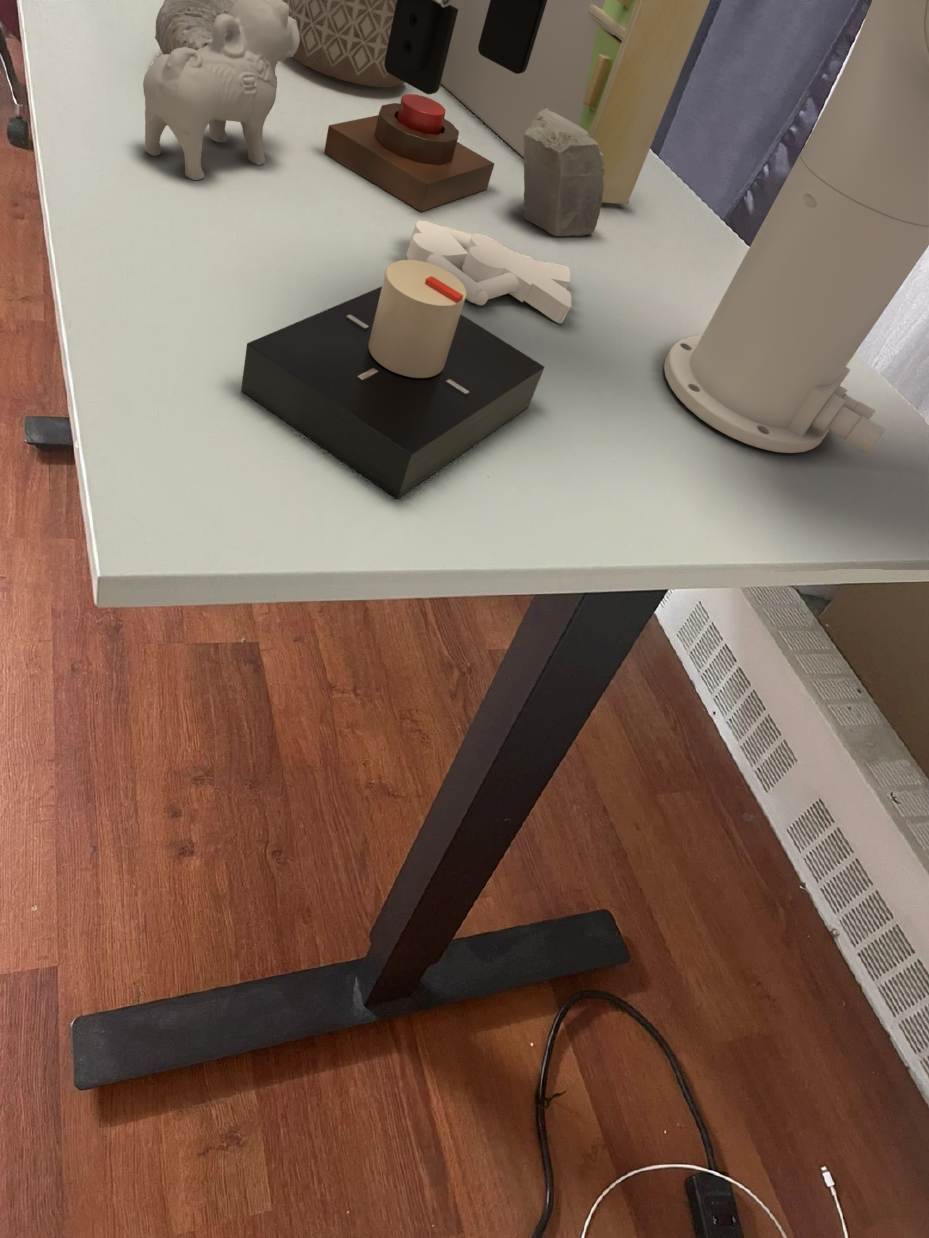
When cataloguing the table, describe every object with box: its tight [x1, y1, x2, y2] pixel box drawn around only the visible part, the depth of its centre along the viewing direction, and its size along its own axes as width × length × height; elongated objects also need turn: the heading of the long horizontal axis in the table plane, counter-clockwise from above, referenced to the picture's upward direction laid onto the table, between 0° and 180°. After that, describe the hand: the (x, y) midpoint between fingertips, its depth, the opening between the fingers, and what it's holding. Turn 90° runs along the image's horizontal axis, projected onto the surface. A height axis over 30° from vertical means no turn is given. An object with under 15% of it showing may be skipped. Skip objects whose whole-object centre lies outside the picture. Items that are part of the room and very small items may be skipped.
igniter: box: [323, 102, 495, 212], centre depth 74 cm, size 10×10×4 cm
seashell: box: [154, 0, 235, 55], centre depth 74 cm, size 6×14×8 cm, turn 5°
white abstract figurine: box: [406, 220, 573, 325], centre depth 65 cm, size 9×12×2 cm
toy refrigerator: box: [580, 0, 711, 205], centre depth 76 cm, size 8×7×21 cm
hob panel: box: [240, 286, 545, 499], centre depth 52 cm, size 14×11×3 cm
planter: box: [281, 0, 405, 88], centre depth 83 cm, size 13×13×10 cm
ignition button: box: [397, 93, 447, 135], centre depth 72 cm, size 4×4×2 cm
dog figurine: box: [142, 0, 300, 181], centre depth 64 cm, size 5×13×11 cm, turn 149°
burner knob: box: [368, 259, 466, 378], centre depth 49 cm, size 4×4×5 cm
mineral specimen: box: [523, 107, 605, 237], centre depth 73 cm, size 7×9×8 cm
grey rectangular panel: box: [440, 0, 614, 158], centre depth 84 cm, size 29×8×18 cm, turn 32°
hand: (458, 72), depth 50 cm, fingers open, 9 cm apart
